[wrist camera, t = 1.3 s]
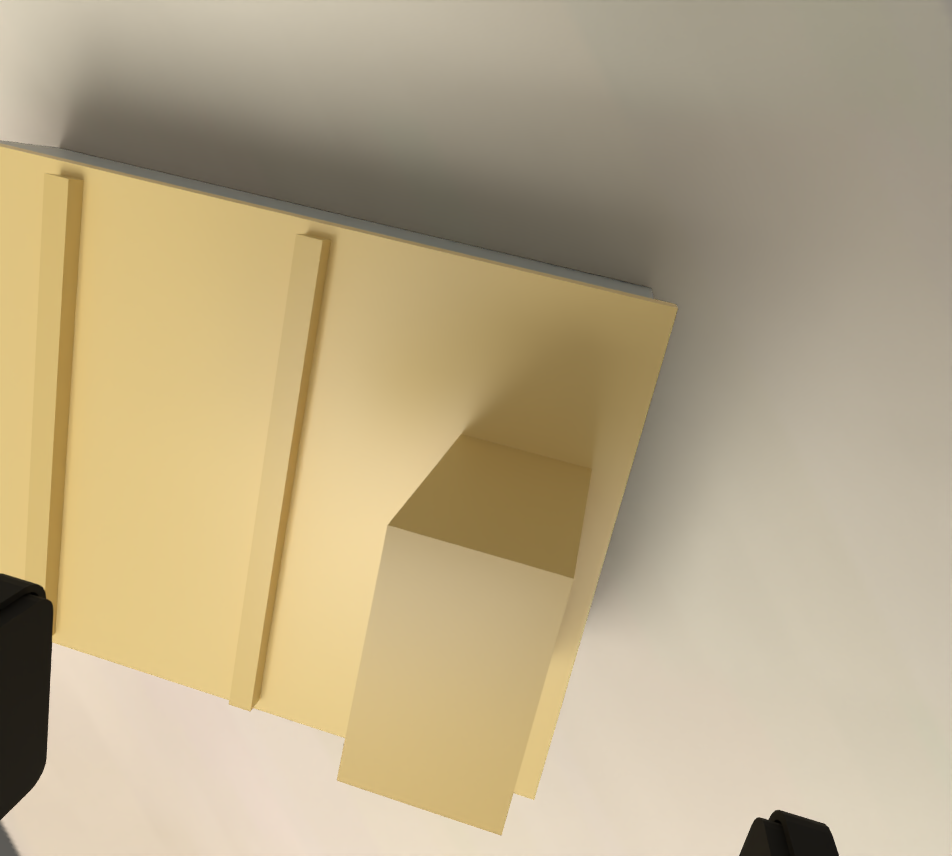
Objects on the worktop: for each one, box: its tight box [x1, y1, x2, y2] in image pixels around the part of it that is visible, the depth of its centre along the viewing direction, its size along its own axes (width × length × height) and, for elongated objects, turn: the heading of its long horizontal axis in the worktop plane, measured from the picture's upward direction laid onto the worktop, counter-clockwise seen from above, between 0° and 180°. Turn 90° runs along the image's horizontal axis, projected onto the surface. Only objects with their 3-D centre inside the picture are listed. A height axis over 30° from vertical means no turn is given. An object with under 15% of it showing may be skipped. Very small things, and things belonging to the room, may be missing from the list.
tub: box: [0, 140, 654, 299], centre depth 23 cm, size 20×12×7 cm, turn 78°
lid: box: [0, 143, 678, 835], centre depth 17 cm, size 21×13×6 cm, turn 78°
